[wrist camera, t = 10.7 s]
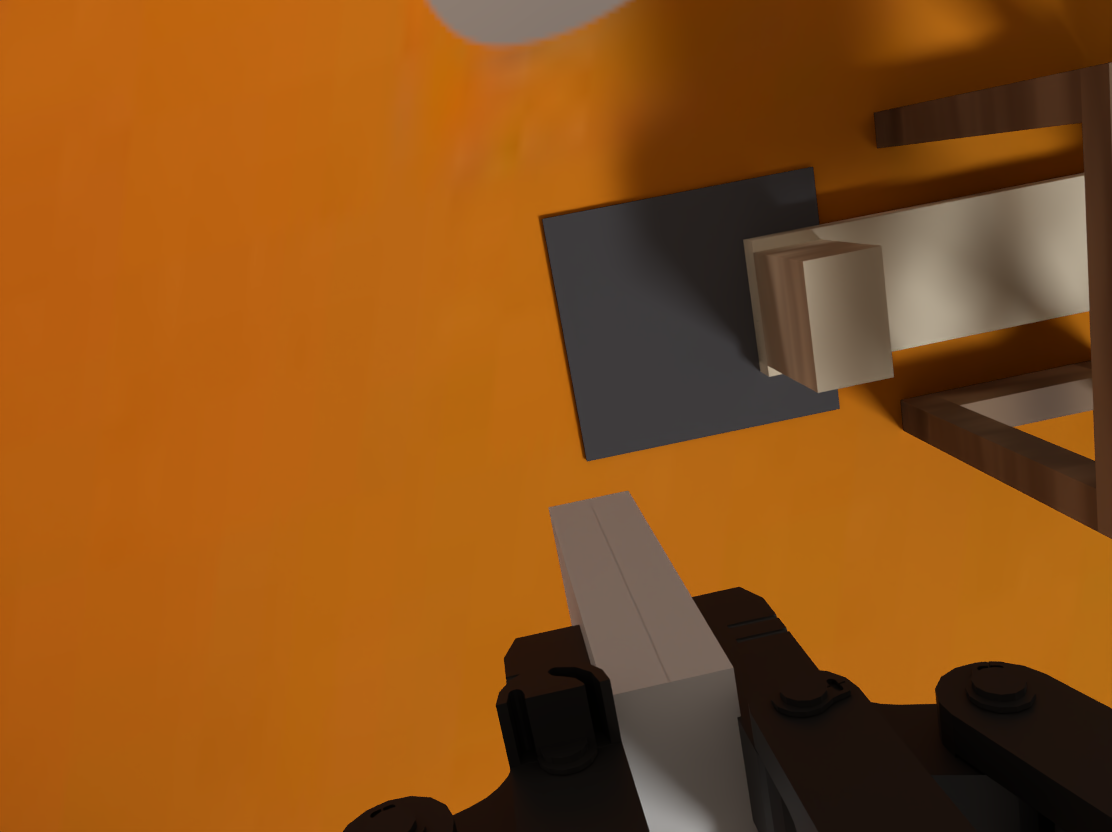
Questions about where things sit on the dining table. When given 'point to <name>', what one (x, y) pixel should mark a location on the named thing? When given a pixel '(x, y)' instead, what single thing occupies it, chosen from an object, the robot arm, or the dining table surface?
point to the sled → (915, 279)
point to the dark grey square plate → (674, 313)
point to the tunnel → (1108, 378)
